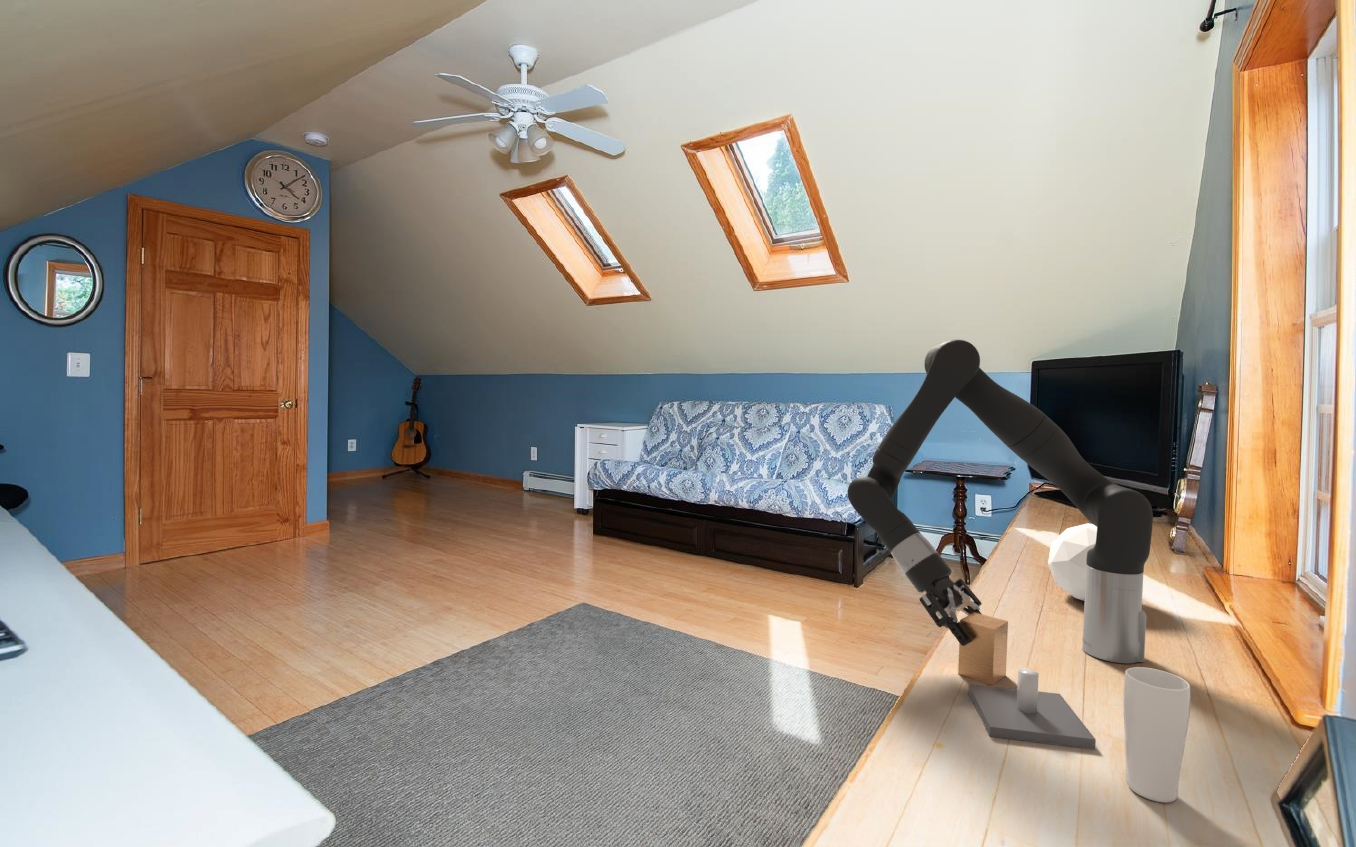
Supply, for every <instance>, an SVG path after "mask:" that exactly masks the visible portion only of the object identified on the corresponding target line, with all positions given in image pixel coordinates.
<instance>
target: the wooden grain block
mask: <svg viewBox="0 0 1356 847" xmlns="http://www.w3.org/2000/svg"><path fill="white" fill-rule="evenodd" d="M959 622H960V623H961V624H962V626H963V627H964V628H965V630H966V631H967V632H968V633H969V635H970V636H971V637H972V641H971V642H970V643H968V644H967V645H965V646H962V645H961V644H960V643H959V642H958V648H959V649H958V664H957V665H958V666H957V668H958V669H957V670H958V671H957V675H961V676H963V677H966V678H969V679H972V680H974V681H975V680H976V681H978V682H981V683H983V682H984V684H986V685H988V686H989V685H990V686H992V687H994V685H996V683H998V682H999V681H1001V680H1002V679H1003V678H1005V677H1006V676H1007V662H1008V661H1007V659H1008V658H1007V655H1008V635H1009V634H1008V630H1009V620H1004V619H1001V618H997V617H994V616H989V615H985V614H983V613H981V614H979V613H975V612H974V613H972V614H970V615H966V616H964V617H962V618H961V619H960V620H959Z"/></svg>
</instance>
